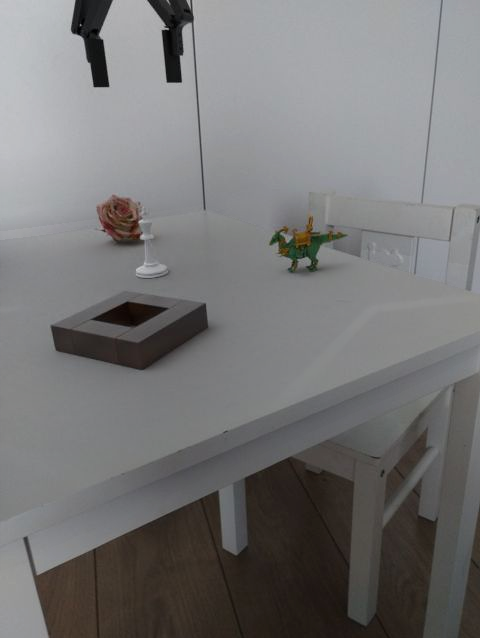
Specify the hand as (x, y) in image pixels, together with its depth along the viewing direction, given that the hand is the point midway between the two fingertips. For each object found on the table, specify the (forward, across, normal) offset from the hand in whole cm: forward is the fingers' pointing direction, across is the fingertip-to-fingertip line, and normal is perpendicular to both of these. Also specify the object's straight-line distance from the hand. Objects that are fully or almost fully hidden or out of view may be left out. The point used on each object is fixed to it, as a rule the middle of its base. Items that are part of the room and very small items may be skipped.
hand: (136, 85), depth 84 cm
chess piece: (+27, -4, +6) cm, 28 cm away
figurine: (+27, -26, -4) cm, 37 cm away
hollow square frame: (+27, -18, +27) cm, 42 cm away
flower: (+26, +14, -9) cm, 31 cm away
